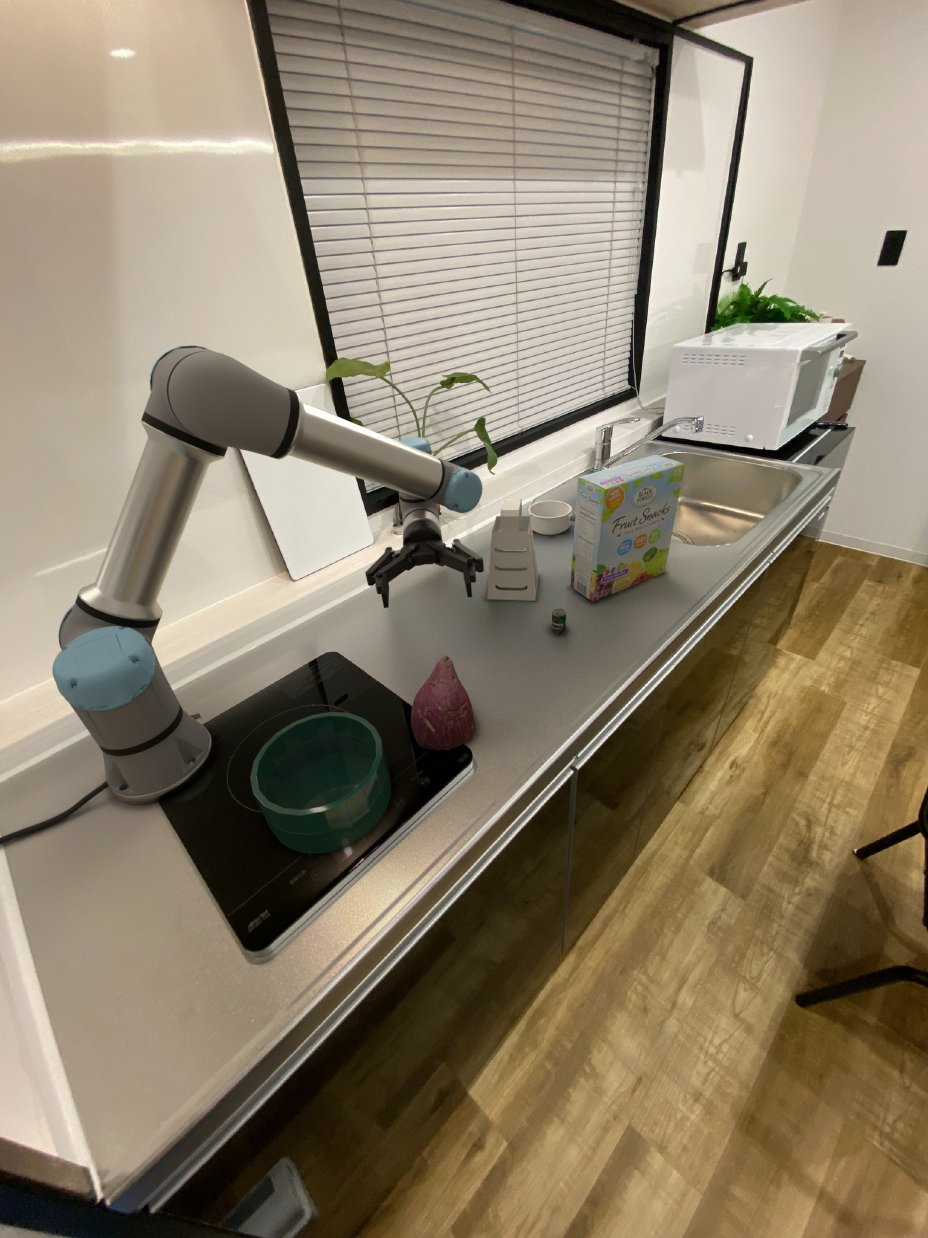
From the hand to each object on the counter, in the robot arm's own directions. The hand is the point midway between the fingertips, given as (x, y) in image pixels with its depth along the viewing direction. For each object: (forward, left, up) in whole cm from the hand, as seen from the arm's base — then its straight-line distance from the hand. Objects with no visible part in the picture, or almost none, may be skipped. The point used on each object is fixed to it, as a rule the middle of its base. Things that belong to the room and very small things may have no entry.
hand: (427, 595), depth 85 cm
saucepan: (+54, +38, -19) cm, 69 cm away
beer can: (+27, +2, -19) cm, 33 cm away
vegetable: (-4, -10, -19) cm, 22 cm away
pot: (-24, -14, -19) cm, 34 cm away
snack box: (+49, +10, -19) cm, 54 cm away
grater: (+28, +21, -19) cm, 40 cm away
